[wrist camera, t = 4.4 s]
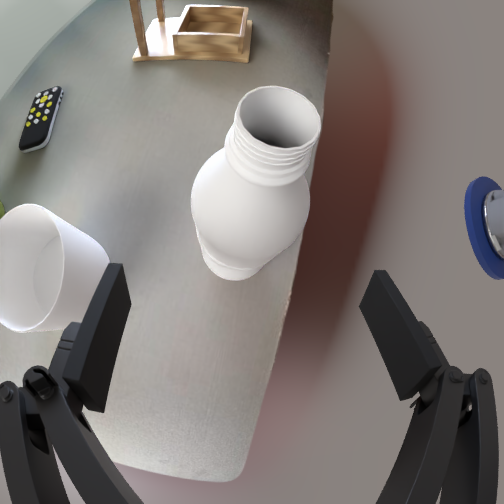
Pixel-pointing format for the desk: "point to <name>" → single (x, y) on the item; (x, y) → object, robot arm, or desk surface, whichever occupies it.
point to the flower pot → (1, 210)
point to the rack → (194, 34)
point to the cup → (45, 270)
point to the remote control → (40, 119)
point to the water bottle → (256, 183)
